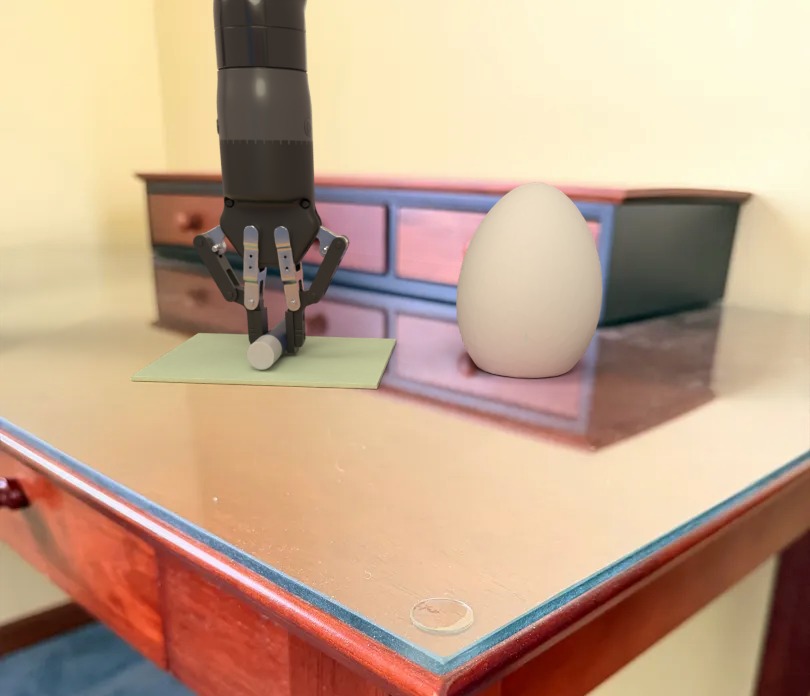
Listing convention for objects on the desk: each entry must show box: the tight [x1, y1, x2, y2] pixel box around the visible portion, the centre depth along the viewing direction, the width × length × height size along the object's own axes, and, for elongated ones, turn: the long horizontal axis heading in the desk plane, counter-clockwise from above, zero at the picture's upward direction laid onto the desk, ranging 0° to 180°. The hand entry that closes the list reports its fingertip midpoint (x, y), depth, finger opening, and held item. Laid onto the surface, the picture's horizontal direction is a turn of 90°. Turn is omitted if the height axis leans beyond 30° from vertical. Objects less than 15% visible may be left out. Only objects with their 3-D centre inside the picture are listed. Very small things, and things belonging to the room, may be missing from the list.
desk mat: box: [130, 332, 397, 390], centre depth 74 cm, size 20×18×1 cm
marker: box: [247, 317, 287, 370], centre depth 73 cm, size 12×2×2 cm, turn 176°
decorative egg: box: [455, 182, 603, 379], centre depth 69 cm, size 12×12×15 cm
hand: (277, 350), depth 73 cm, fingers closed on marker, 2 cm apart
